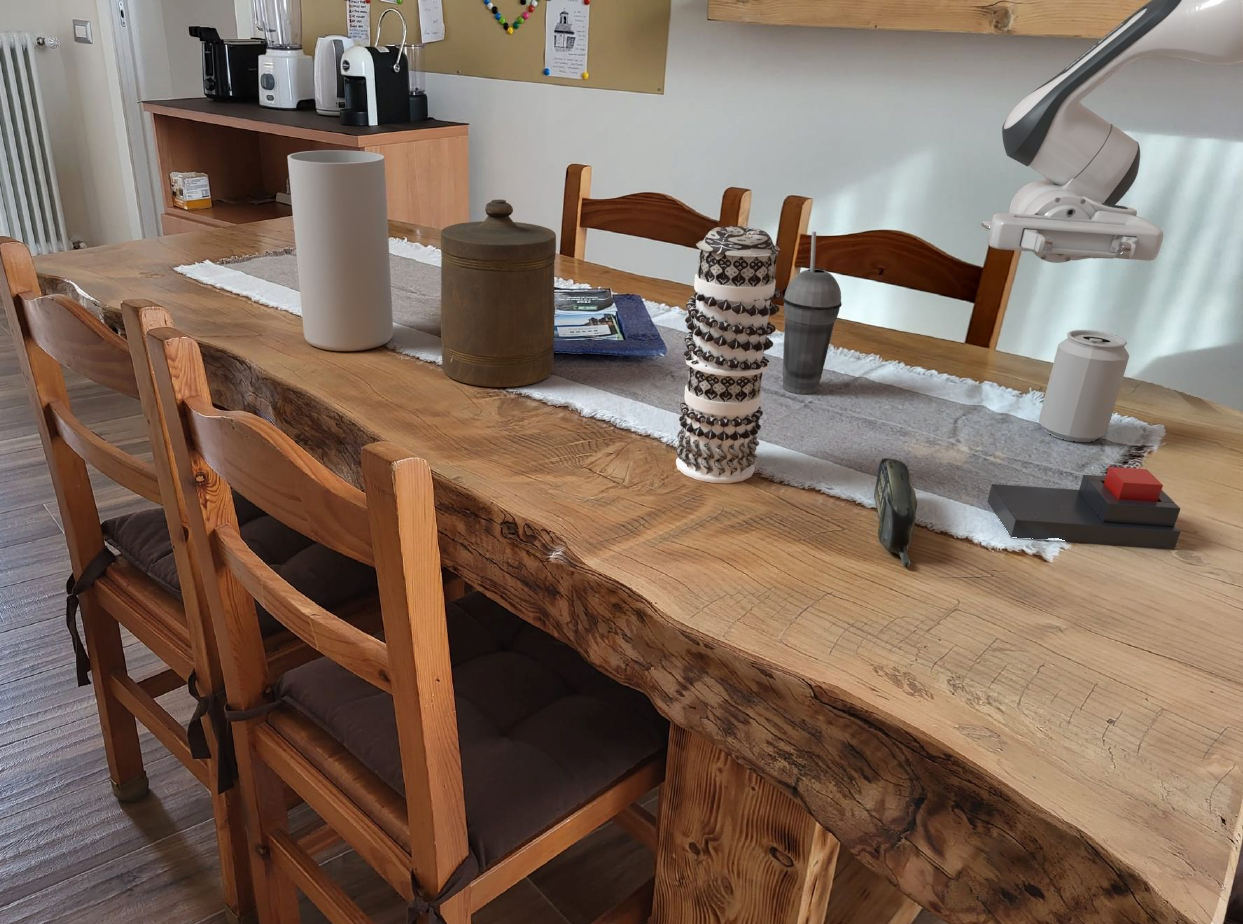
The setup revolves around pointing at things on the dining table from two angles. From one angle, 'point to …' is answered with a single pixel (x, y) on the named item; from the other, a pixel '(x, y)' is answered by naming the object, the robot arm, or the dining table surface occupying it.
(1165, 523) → the dark grey stepped block
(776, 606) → the dining table surface
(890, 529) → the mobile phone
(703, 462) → the decorative candle
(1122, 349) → the can
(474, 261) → the wooden container
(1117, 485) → the red rectangular button
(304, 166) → the cylinder vase
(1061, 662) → the dining table surface
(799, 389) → the beverage cup
